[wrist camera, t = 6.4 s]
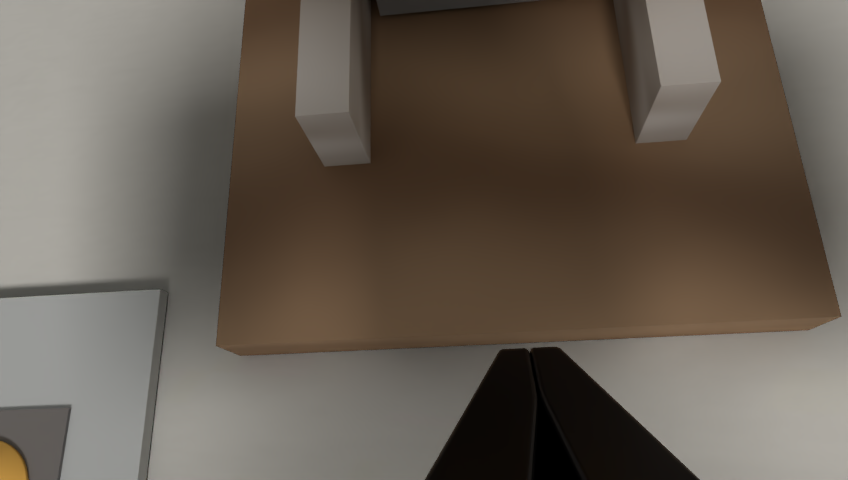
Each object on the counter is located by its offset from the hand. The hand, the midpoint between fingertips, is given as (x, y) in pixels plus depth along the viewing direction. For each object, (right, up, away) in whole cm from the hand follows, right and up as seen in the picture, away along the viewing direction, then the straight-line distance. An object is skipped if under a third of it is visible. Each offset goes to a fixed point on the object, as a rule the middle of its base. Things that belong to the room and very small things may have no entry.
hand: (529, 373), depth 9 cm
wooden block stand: (0, +8, +9) cm, 12 cm away
